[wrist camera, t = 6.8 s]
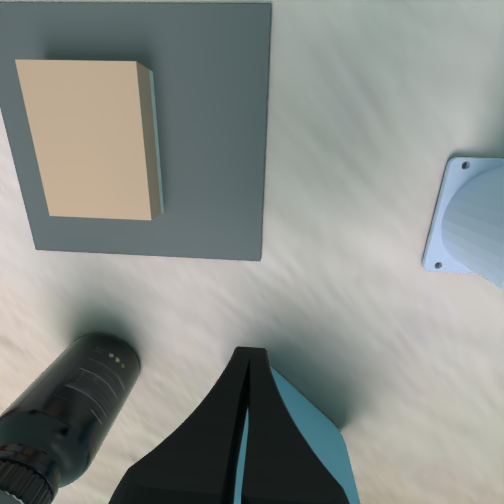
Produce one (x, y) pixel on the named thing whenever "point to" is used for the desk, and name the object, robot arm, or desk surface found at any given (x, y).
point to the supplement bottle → (63, 418)
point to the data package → (309, 439)
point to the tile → (94, 137)
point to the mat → (158, 119)
